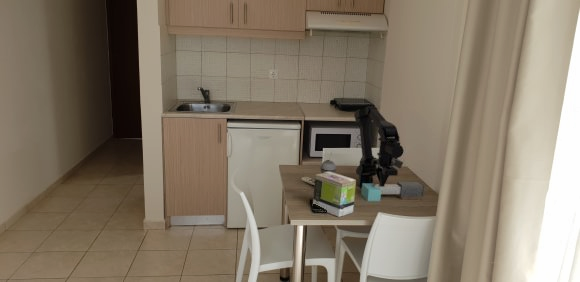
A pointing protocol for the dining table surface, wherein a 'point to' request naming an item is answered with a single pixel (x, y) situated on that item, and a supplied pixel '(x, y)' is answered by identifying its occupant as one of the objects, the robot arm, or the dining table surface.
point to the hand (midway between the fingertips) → (381, 184)
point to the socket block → (370, 192)
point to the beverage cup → (328, 166)
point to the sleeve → (411, 190)
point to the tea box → (334, 193)
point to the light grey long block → (388, 188)
